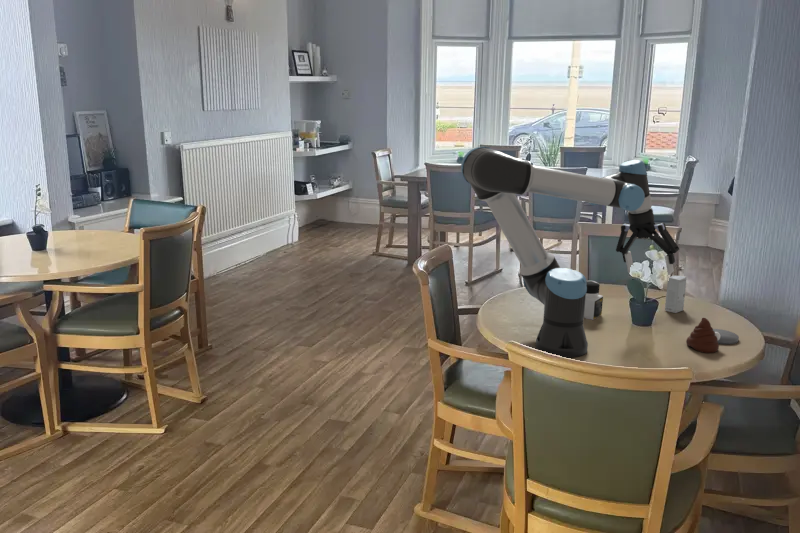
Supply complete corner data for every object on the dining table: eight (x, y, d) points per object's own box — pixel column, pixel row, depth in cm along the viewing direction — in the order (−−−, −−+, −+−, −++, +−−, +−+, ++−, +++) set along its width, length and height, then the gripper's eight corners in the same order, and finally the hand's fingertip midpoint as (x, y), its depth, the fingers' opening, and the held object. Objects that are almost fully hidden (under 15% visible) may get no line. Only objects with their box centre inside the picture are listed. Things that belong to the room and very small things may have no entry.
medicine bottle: (593, 320, 235) (596, 286, 232) (573, 316, 239) (576, 282, 236) (601, 315, 240) (604, 281, 237) (582, 311, 245) (584, 278, 242)
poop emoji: (679, 343, 215) (683, 314, 213) (703, 341, 217) (707, 312, 215) (700, 355, 206) (704, 325, 203) (725, 352, 208) (729, 323, 205)
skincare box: (676, 313, 243) (679, 280, 240) (663, 310, 246) (667, 277, 243) (683, 309, 247) (687, 276, 244) (671, 307, 250) (675, 274, 247)
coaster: (728, 347, 212) (729, 343, 212) (693, 337, 220) (694, 333, 220) (744, 338, 219) (744, 335, 219) (710, 329, 227) (710, 326, 227)
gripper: (684, 204, 210) (694, 269, 216) (609, 206, 229) (620, 266, 235) (672, 213, 206) (683, 278, 212) (598, 214, 224) (609, 274, 230)
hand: (650, 272), depth 223 cm, fingers open, 13 cm apart
